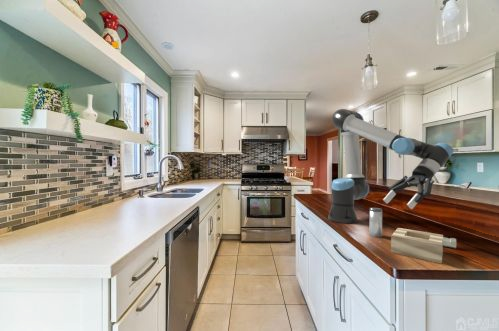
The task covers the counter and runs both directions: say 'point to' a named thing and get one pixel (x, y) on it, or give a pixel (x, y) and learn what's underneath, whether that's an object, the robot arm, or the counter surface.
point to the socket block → (417, 244)
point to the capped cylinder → (375, 222)
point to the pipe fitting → (449, 242)
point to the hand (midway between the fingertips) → (396, 204)
